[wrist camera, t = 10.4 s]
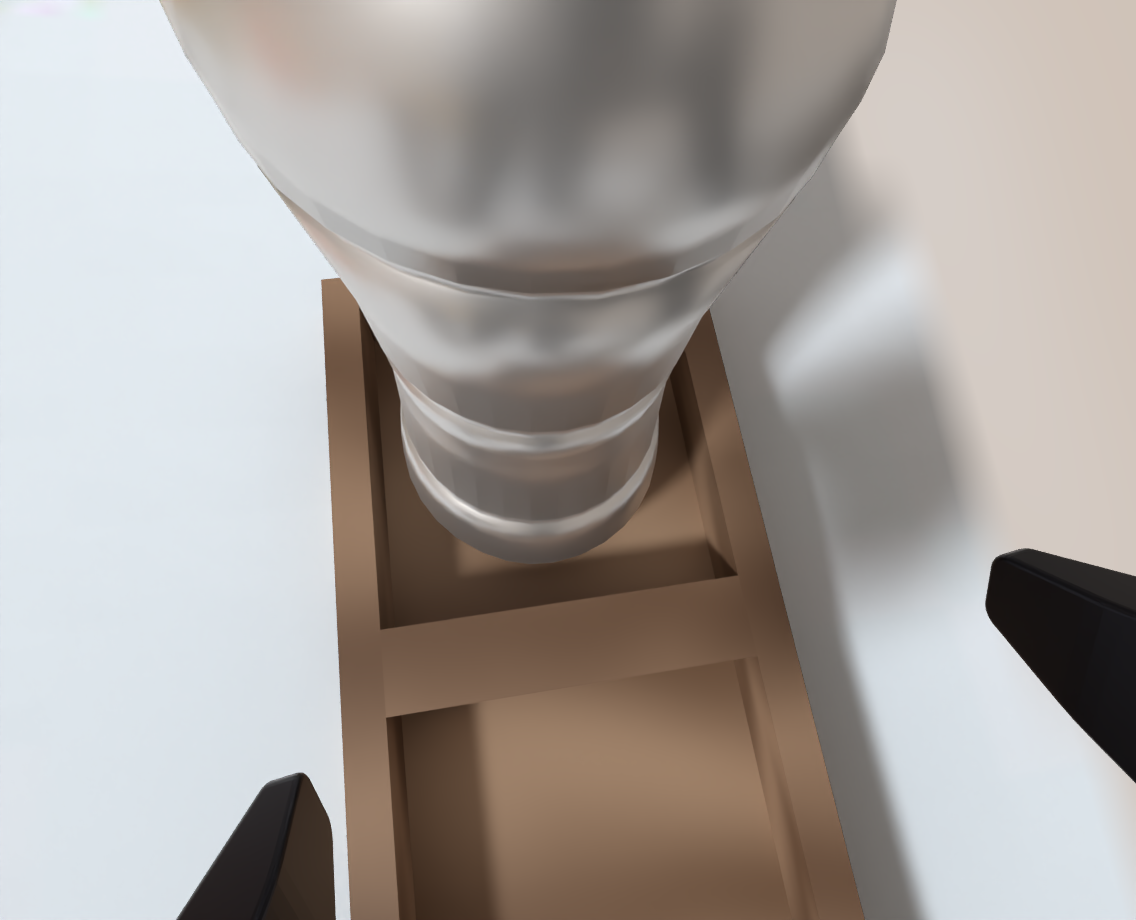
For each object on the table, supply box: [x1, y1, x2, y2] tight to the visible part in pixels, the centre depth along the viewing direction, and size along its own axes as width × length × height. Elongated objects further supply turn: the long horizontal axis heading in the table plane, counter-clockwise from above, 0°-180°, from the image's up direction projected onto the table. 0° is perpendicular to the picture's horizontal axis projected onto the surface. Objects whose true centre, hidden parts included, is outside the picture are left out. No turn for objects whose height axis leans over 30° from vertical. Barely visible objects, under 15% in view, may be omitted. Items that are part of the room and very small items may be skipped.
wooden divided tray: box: [321, 278, 865, 920], centre depth 17 cm, size 23×12×2 cm, turn 9°
